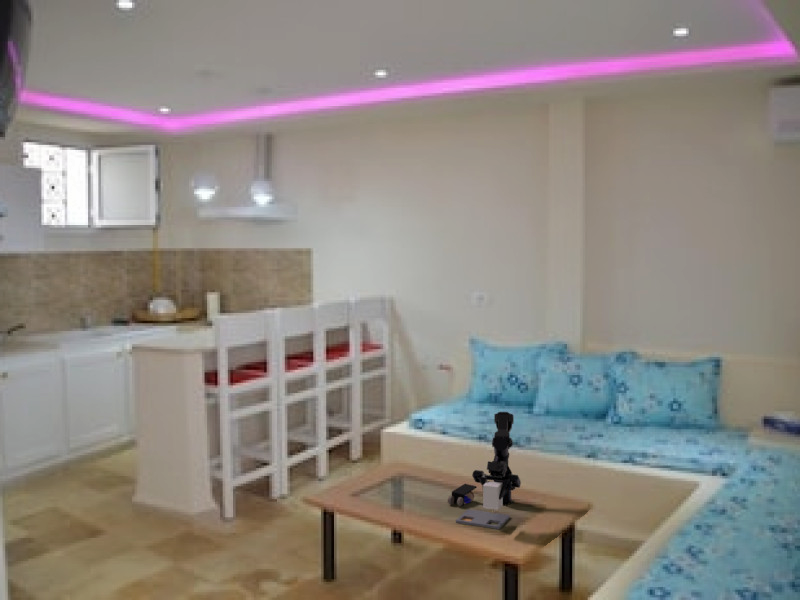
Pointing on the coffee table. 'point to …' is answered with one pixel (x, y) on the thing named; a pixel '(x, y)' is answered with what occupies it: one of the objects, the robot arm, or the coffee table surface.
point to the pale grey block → (492, 496)
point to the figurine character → (462, 495)
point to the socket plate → (482, 519)
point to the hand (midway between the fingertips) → (491, 498)
